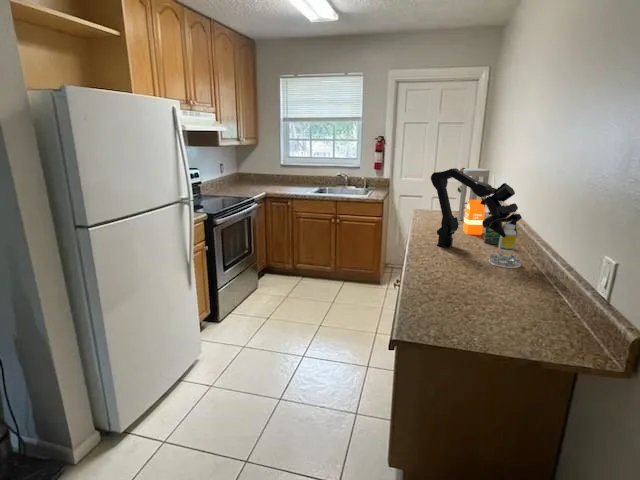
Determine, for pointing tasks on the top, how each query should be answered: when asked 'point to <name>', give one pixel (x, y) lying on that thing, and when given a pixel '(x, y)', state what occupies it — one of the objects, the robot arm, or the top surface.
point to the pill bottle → (508, 238)
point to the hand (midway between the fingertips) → (510, 236)
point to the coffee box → (491, 236)
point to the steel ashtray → (504, 261)
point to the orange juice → (474, 217)
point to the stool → (475, 175)
